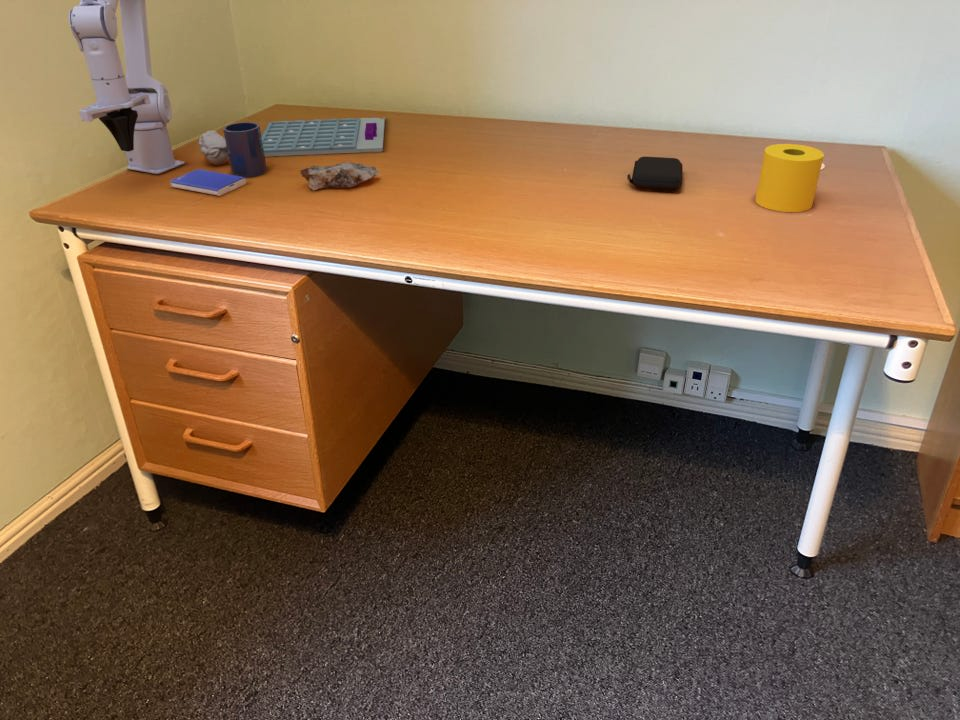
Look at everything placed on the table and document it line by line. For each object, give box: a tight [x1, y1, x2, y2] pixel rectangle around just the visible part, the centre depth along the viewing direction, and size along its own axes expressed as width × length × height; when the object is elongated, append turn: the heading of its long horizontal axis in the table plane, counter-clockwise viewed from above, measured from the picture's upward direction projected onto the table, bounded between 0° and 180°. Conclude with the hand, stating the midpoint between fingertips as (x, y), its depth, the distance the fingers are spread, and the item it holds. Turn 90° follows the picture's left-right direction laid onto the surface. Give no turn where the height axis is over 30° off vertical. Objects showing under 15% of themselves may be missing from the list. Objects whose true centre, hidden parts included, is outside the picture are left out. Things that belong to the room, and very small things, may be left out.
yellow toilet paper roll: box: [755, 143, 825, 213], centre depth 138 cm, size 10×10×9 cm
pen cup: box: [222, 121, 268, 178], centre depth 157 cm, size 7×7×10 cm
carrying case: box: [626, 156, 684, 193], centre depth 151 cm, size 11×3×15 cm
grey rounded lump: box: [198, 130, 229, 166], centre depth 163 cm, size 6×7×7 cm
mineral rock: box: [300, 161, 380, 192], centre depth 151 cm, size 15×8×4 cm, turn 92°
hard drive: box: [170, 168, 247, 197], centre depth 152 cm, size 2×8×12 cm
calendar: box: [261, 116, 386, 158], centre depth 180 cm, size 27×29×2 cm
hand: (127, 150), depth 146 cm, fingers closed
